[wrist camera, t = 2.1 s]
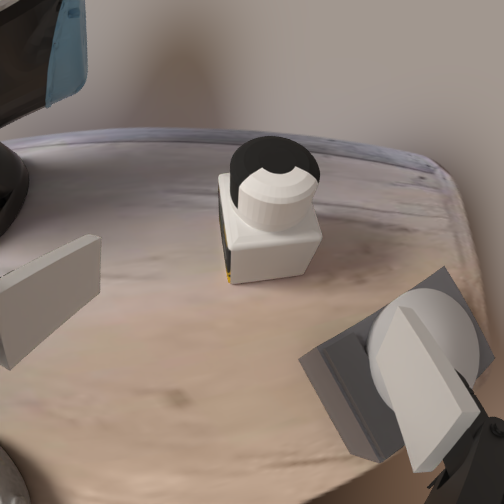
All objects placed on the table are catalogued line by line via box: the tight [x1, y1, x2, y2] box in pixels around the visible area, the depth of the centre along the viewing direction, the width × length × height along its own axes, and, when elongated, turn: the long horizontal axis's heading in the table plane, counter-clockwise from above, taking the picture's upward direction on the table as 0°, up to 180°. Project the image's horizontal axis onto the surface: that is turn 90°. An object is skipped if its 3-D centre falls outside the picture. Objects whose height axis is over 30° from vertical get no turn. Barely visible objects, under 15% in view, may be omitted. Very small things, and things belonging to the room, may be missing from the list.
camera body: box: [298, 266, 495, 463], centre depth 23 cm, size 10×14×8 cm
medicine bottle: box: [218, 136, 322, 284], centre depth 26 cm, size 7×7×12 cm
